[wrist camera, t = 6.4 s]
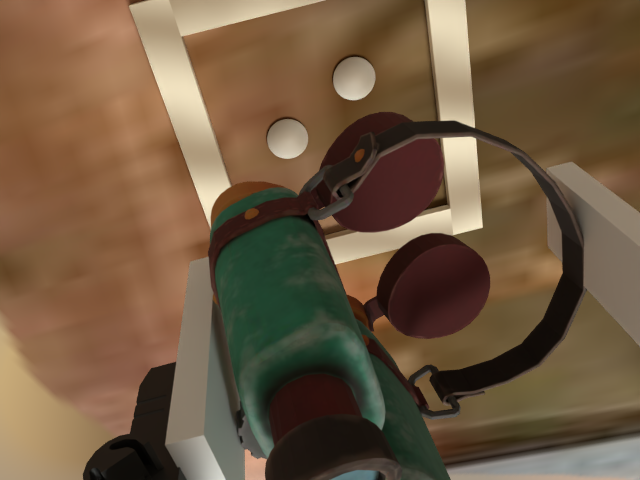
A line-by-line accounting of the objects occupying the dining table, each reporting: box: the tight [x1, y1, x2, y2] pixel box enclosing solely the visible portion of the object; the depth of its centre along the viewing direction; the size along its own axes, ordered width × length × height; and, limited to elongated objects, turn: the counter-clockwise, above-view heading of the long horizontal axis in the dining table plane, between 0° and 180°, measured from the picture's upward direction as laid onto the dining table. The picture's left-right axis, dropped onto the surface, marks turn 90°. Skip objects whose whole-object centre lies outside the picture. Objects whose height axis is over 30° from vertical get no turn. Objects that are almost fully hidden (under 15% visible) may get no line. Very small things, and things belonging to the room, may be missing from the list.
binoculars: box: [208, 112, 587, 480], centre depth 14 cm, size 9×11×10 cm
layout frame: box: [129, 0, 483, 264], centre depth 33 cm, size 18×17×1 cm
